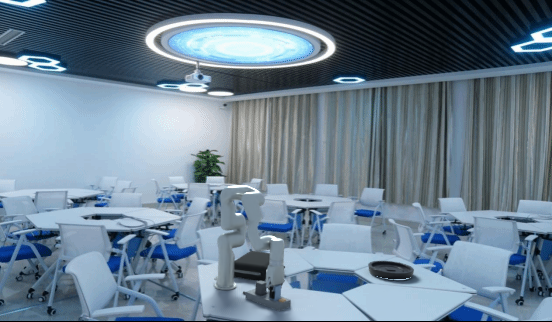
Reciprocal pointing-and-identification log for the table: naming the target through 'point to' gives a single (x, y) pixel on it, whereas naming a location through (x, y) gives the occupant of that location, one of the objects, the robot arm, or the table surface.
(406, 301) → the table surface
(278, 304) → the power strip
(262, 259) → the briefcase
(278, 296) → the block
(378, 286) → the table surface
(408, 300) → the table surface
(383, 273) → the round tray
